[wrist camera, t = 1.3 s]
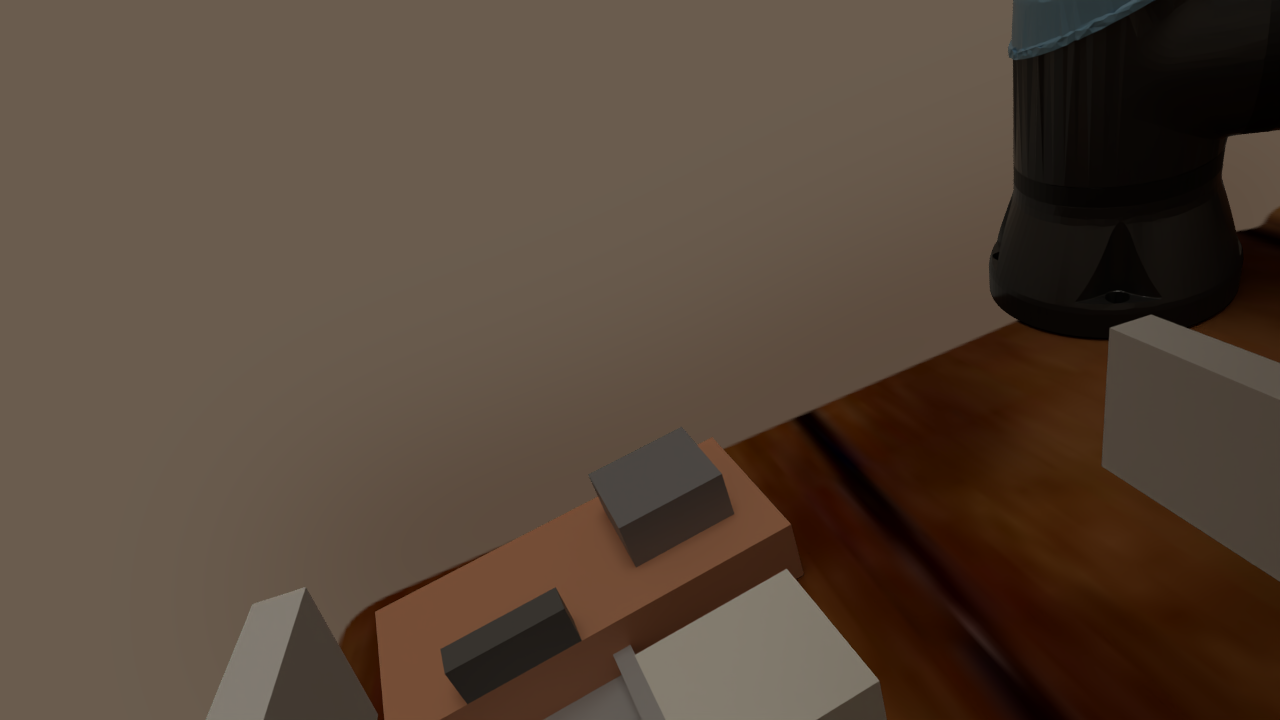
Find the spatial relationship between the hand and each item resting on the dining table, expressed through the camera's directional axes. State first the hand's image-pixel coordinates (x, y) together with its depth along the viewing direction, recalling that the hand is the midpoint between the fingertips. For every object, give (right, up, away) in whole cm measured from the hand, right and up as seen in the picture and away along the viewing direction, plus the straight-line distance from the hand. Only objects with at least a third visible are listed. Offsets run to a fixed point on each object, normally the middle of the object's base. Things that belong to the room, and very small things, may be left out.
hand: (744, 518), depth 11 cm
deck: (-3, -13, +27) cm, 30 cm away
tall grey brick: (+5, -17, +17) cm, 25 cm away
